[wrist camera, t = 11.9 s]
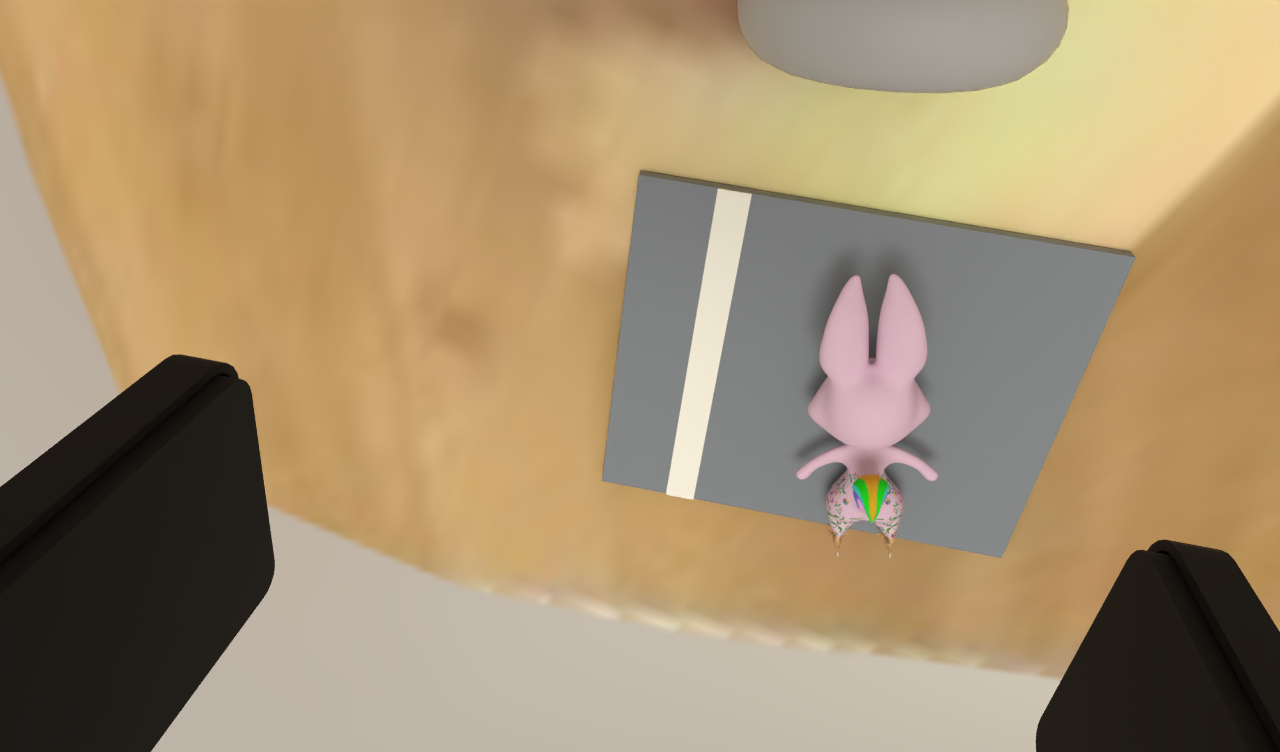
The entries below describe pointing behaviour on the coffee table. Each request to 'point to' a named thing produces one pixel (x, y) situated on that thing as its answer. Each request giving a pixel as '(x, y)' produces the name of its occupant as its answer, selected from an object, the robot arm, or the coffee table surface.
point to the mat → (790, 345)
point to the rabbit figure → (870, 406)
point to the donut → (905, 41)
